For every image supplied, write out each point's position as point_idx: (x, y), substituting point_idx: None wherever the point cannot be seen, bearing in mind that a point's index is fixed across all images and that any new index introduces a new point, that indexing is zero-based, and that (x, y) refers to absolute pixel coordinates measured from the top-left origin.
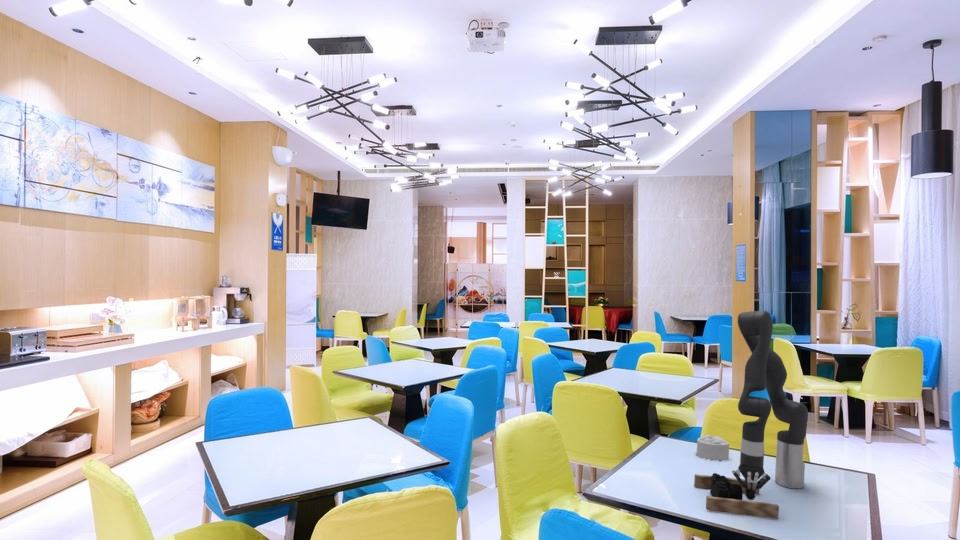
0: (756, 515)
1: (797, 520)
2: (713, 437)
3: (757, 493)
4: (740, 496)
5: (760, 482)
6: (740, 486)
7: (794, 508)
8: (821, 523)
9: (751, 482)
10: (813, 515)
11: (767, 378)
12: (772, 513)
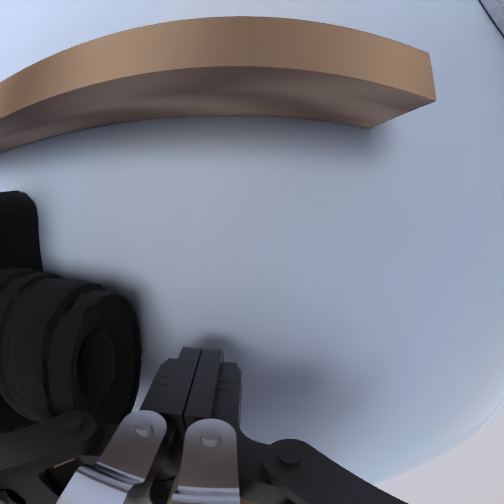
0: None
1: (397, 442)
2: None
3: (358, 124)
4: (115, 411)
5: (336, 497)
6: None
7: (477, 323)
8: (465, 419)
9: (191, 488)
10: (493, 365)
11: None
12: None
